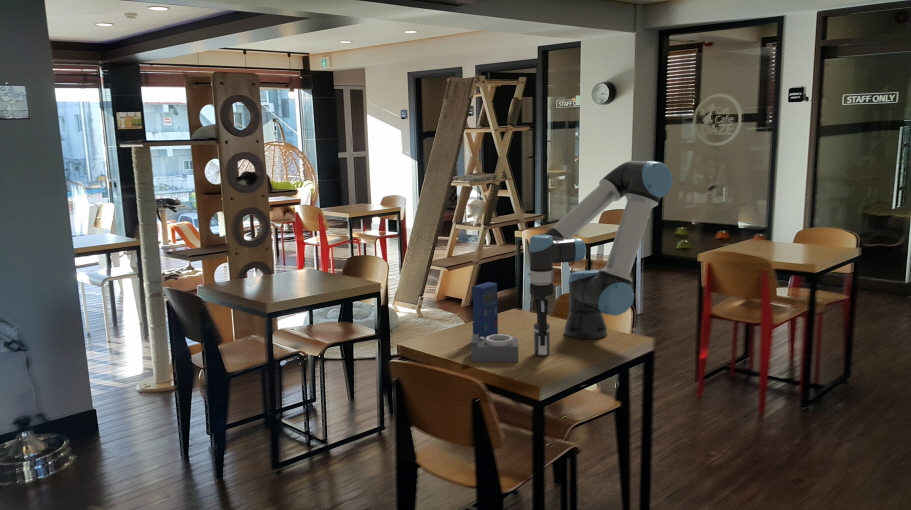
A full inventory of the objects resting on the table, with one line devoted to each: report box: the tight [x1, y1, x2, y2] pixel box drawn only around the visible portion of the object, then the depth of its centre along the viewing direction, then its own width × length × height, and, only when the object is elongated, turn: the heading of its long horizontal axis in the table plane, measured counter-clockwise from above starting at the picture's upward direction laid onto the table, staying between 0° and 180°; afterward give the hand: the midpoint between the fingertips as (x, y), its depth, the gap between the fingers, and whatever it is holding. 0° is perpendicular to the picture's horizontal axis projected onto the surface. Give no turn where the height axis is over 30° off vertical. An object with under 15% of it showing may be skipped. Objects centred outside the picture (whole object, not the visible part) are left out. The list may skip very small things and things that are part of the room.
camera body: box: [470, 333, 519, 363], centre depth 231 cm, size 15×10×6 cm, turn 86°
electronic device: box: [471, 281, 499, 338], centre depth 251 cm, size 10×5×20 cm, turn 141°
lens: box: [533, 322, 551, 357], centre depth 233 cm, size 5×5×10 cm
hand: (542, 351), depth 233 cm, fingers closed on lens, 5 cm apart
